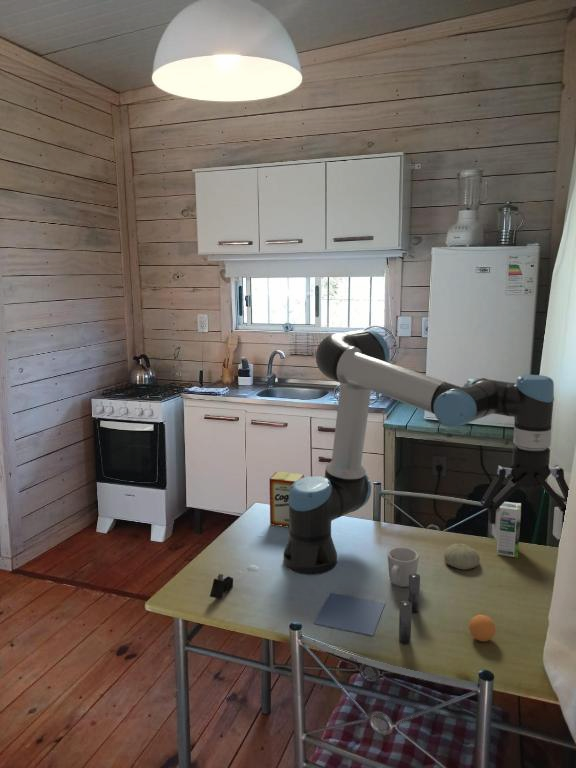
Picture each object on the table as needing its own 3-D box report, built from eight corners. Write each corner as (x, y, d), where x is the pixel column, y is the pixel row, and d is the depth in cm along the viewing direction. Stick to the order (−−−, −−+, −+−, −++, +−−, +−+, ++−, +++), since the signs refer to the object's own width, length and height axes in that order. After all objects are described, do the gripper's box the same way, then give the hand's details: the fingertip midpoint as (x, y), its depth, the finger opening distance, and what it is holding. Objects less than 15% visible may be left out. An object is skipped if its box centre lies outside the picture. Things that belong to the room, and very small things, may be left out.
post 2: (407, 612, 144) (408, 577, 143) (408, 606, 147) (409, 572, 145) (417, 614, 144) (419, 579, 142) (419, 608, 146) (420, 574, 144)
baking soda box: (304, 520, 196) (304, 473, 193) (298, 528, 190) (298, 480, 187) (276, 516, 199) (276, 470, 196) (270, 524, 193) (269, 477, 190)
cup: (407, 598, 150) (408, 569, 149) (377, 589, 154) (378, 561, 153) (422, 579, 159) (423, 551, 158) (393, 571, 163) (394, 544, 162)
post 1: (397, 642, 133) (398, 606, 131) (399, 636, 135) (400, 599, 133) (409, 645, 132) (410, 608, 130) (411, 638, 134) (412, 602, 133)
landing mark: (313, 623, 140) (313, 623, 140) (330, 593, 153) (330, 592, 153) (372, 636, 135) (372, 635, 135) (385, 603, 148) (385, 602, 148)
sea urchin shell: (474, 547, 172) (480, 538, 166) (477, 576, 168) (483, 567, 161) (441, 546, 173) (445, 536, 166) (443, 575, 169) (447, 566, 162)
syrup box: (496, 555, 172) (499, 507, 169) (497, 545, 177) (500, 499, 174) (517, 558, 170) (521, 510, 167) (517, 549, 175) (521, 502, 172)
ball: (467, 643, 132) (469, 621, 131) (469, 629, 137) (470, 607, 136) (494, 649, 131) (495, 626, 129) (494, 634, 136) (496, 612, 134)
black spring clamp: (222, 598, 156) (227, 575, 158) (230, 600, 155) (235, 577, 157) (207, 595, 148) (212, 572, 150) (214, 597, 147) (220, 574, 149)
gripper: (478, 451, 128) (474, 543, 132) (597, 451, 127) (589, 544, 131) (469, 441, 136) (465, 529, 140) (582, 440, 134) (575, 529, 139)
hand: (525, 536), depth 135 cm, fingers open, 13 cm apart
